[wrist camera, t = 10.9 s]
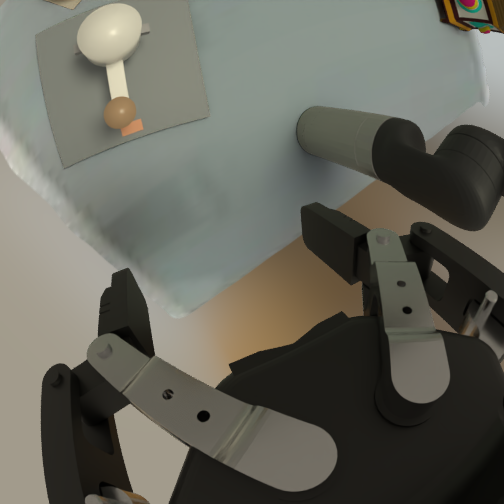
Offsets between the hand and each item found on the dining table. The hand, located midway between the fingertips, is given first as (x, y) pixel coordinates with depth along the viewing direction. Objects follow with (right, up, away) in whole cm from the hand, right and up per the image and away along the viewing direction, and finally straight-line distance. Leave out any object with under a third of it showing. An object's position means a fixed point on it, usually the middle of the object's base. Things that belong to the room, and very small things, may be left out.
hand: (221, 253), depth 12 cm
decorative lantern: (+61, +76, +23) cm, 100 cm away
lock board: (-17, +25, +15) cm, 34 cm away
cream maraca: (-15, +22, +12) cm, 29 cm away
